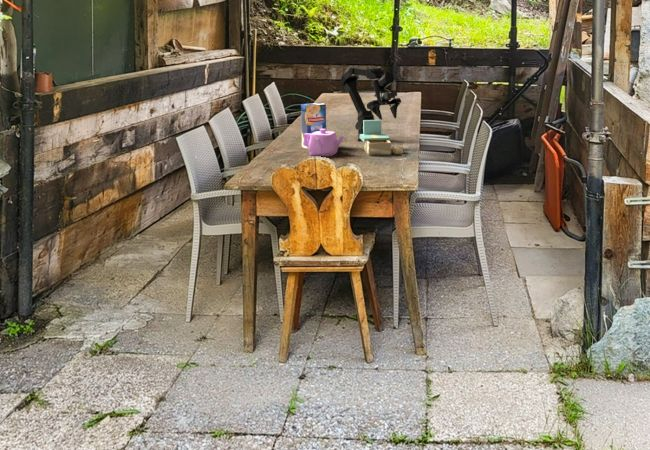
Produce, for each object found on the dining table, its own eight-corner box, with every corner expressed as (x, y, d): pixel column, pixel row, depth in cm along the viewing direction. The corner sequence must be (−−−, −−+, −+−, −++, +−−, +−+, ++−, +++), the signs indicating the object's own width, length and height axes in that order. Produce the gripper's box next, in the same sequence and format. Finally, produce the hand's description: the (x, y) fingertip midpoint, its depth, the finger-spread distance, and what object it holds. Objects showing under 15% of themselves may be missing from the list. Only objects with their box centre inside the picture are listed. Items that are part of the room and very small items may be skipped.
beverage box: (326, 146, 439) (325, 104, 433) (307, 148, 434) (306, 105, 428) (320, 144, 444) (319, 102, 439) (301, 146, 439) (300, 104, 434)
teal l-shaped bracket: (359, 138, 432) (359, 120, 429) (384, 137, 433) (384, 119, 431) (364, 142, 418) (364, 124, 416) (389, 141, 419) (389, 123, 417)
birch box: (364, 150, 424) (364, 139, 423) (385, 150, 426) (386, 138, 424) (369, 155, 411) (368, 143, 409) (391, 154, 412) (391, 142, 411)
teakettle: (329, 149, 430) (329, 125, 426) (346, 154, 415) (346, 129, 412) (300, 153, 422) (299, 128, 419) (316, 158, 407) (315, 132, 404)
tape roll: (391, 153, 415) (391, 147, 414) (393, 152, 420) (393, 145, 419) (402, 154, 414) (402, 147, 413) (403, 152, 419) (403, 146, 418)
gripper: (374, 85, 427) (382, 114, 424) (403, 83, 436) (411, 111, 434) (362, 94, 436) (370, 122, 434) (391, 91, 446) (399, 119, 443)
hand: (388, 119), depth 436 cm, fingers open, 9 cm apart
